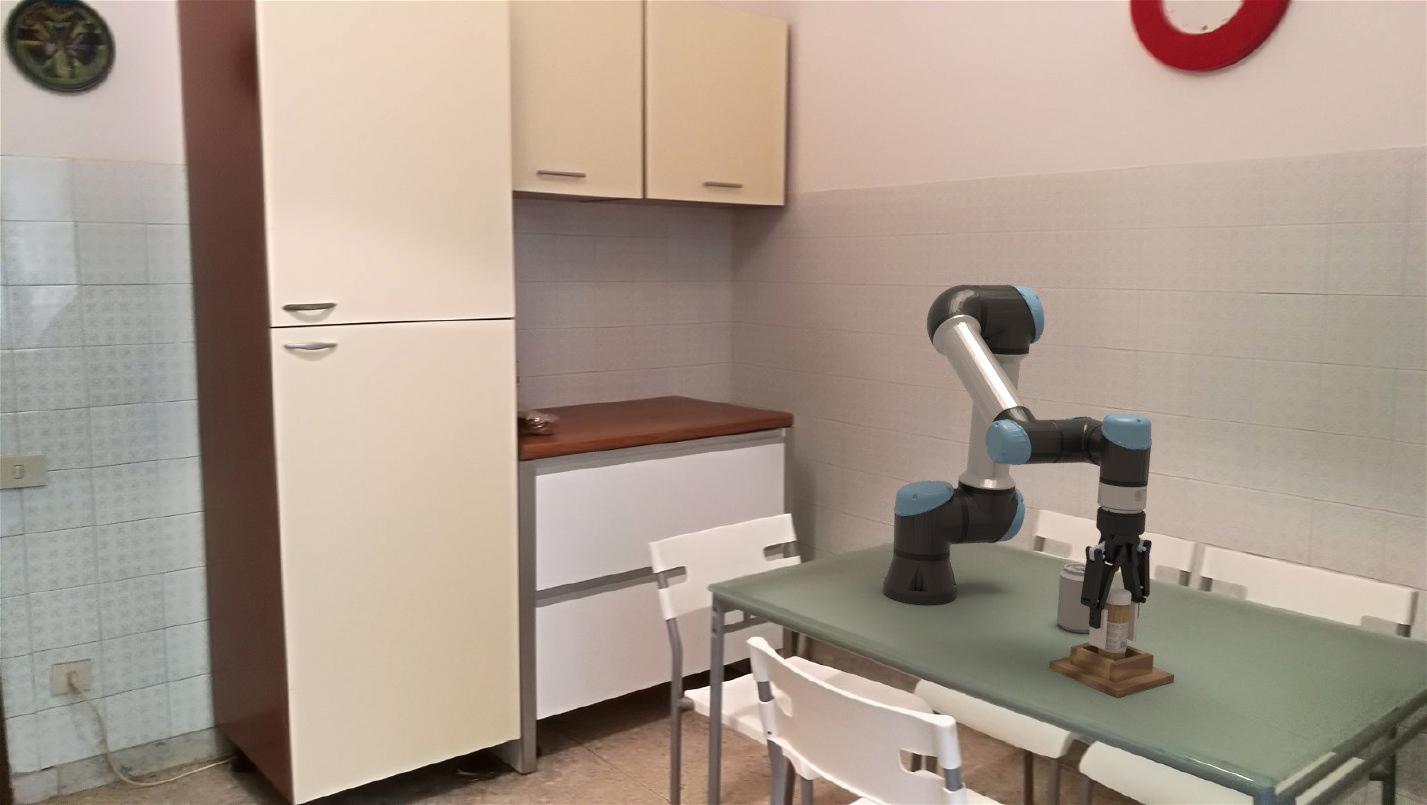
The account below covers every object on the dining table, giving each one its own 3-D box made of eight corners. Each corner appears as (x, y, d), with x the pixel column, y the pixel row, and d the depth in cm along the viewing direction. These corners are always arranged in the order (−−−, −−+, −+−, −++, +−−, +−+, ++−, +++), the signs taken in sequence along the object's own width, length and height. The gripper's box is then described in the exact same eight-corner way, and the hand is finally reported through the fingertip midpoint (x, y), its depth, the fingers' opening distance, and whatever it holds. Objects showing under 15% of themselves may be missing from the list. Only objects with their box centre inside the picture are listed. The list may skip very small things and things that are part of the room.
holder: (1048, 668, 177) (1050, 644, 176) (1104, 654, 184) (1105, 631, 183) (1117, 697, 165) (1118, 672, 164) (1173, 681, 172) (1175, 657, 171)
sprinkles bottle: (1109, 661, 177) (1116, 585, 175) (1130, 670, 173) (1137, 592, 171) (1089, 664, 175) (1096, 587, 173) (1111, 674, 171) (1117, 595, 169)
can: (1101, 635, 193) (1105, 573, 192) (1059, 632, 195) (1062, 570, 193) (1094, 622, 200) (1098, 562, 199) (1054, 619, 202) (1057, 559, 200)
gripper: (1099, 519, 162) (1090, 659, 165) (1180, 506, 172) (1170, 639, 175) (1061, 509, 169) (1053, 644, 172) (1141, 498, 179) (1132, 626, 182)
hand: (1112, 641), depth 173 cm, fingers open, 7 cm apart
